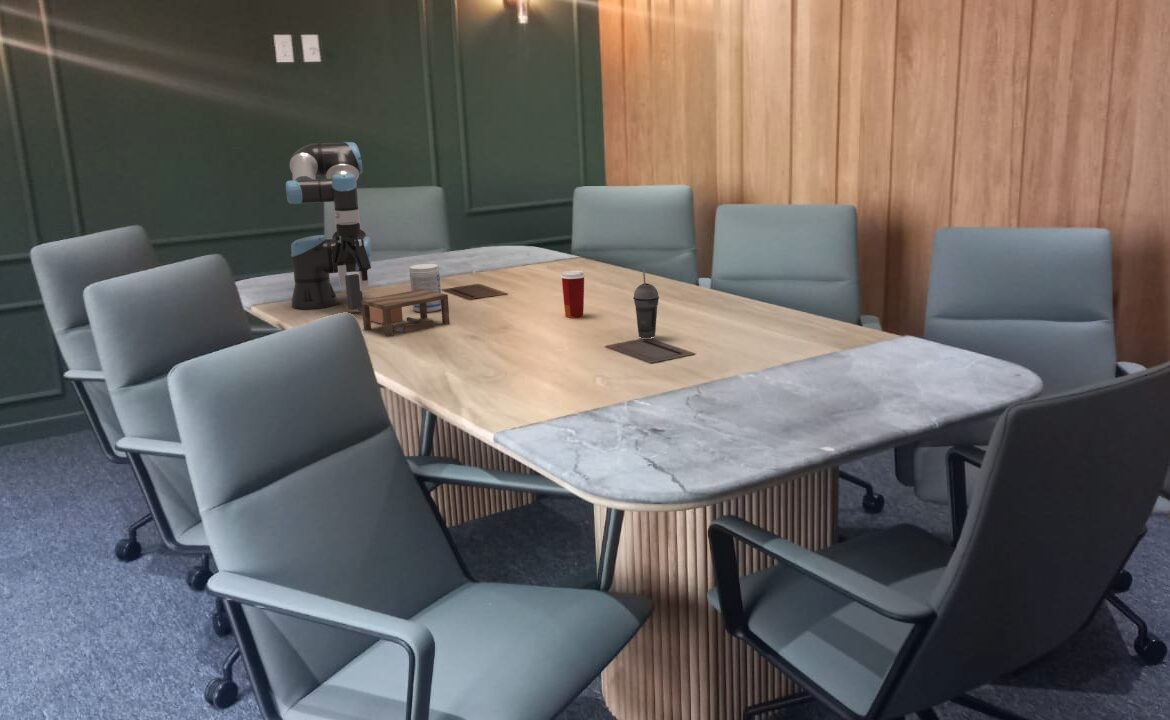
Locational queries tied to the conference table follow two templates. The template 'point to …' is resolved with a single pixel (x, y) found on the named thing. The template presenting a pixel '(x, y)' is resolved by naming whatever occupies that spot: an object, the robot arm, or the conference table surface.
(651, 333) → the beverage cup
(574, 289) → the paper cup
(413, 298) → the shelf
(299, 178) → the robot arm
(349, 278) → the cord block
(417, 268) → the supplement tub
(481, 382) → the conference table surface
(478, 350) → the conference table surface
